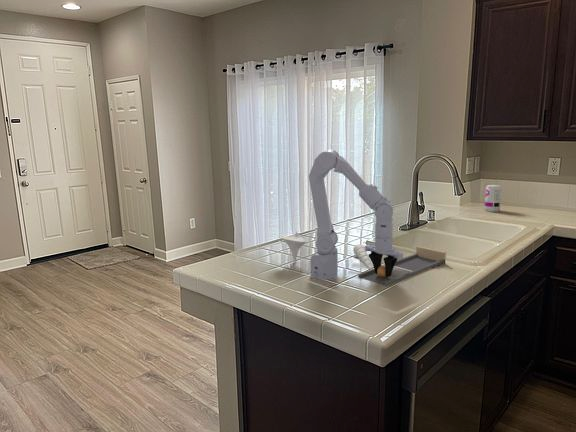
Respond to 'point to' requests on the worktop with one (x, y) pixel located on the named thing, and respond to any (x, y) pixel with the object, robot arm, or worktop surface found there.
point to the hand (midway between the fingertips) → (383, 274)
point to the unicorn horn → (362, 255)
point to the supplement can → (492, 198)
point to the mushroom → (294, 243)
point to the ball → (381, 271)
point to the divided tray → (408, 266)
